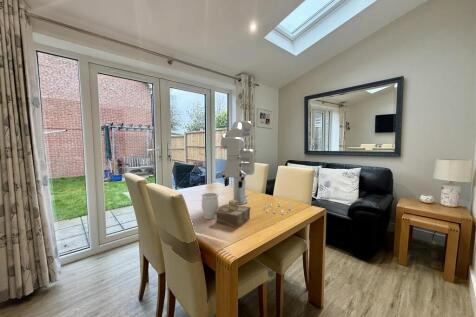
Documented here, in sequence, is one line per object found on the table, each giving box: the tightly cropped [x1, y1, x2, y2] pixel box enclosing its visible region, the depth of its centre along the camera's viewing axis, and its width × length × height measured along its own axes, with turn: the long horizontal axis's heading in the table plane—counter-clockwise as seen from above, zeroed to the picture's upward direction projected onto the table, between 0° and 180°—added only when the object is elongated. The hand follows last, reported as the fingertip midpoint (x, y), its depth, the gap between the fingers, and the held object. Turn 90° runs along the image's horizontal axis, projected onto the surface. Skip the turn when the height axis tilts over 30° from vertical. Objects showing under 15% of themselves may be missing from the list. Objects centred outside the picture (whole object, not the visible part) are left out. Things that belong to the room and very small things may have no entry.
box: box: [215, 209, 251, 229], centre depth 130 cm, size 16×14×7 cm
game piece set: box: [263, 201, 292, 215], centre depth 152 cm, size 19×20×4 cm
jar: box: [201, 192, 219, 220], centre depth 137 cm, size 11×10×15 cm
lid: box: [216, 199, 251, 218], centre depth 129 cm, size 17×15×7 cm
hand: (233, 186), depth 127 cm, fingers open, 9 cm apart
